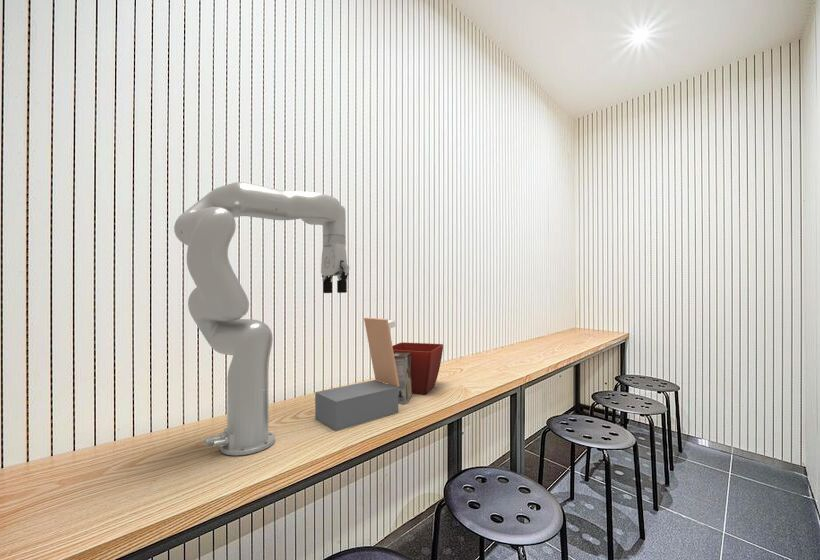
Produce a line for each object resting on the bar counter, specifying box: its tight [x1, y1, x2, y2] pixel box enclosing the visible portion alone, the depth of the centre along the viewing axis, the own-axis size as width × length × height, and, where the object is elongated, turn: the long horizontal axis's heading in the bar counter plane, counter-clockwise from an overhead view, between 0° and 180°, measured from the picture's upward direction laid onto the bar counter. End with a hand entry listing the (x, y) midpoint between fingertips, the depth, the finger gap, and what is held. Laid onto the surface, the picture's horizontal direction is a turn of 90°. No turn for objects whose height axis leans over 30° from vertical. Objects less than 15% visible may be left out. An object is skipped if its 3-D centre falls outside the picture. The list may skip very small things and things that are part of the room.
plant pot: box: [392, 341, 444, 395], centre depth 139 cm, size 19×19×17 cm
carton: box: [314, 379, 399, 432], centre depth 110 cm, size 22×13×8 cm, turn 130°
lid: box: [363, 317, 400, 387], centre depth 118 cm, size 22×12×6 cm
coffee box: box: [389, 353, 413, 405], centre depth 125 cm, size 9×6×16 cm
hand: (334, 292), depth 118 cm, fingers open, 9 cm apart
